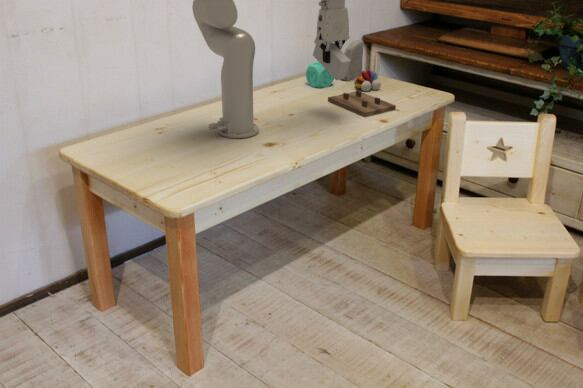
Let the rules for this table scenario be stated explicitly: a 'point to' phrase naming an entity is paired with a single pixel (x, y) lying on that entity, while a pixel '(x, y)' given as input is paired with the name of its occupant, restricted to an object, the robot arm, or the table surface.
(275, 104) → the table surface
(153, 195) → the table surface
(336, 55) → the gray rectangular block
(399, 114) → the table surface
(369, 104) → the brown board
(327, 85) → the decorative dice
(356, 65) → the decorative stone
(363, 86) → the rainbow petal toy
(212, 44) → the robot arm
